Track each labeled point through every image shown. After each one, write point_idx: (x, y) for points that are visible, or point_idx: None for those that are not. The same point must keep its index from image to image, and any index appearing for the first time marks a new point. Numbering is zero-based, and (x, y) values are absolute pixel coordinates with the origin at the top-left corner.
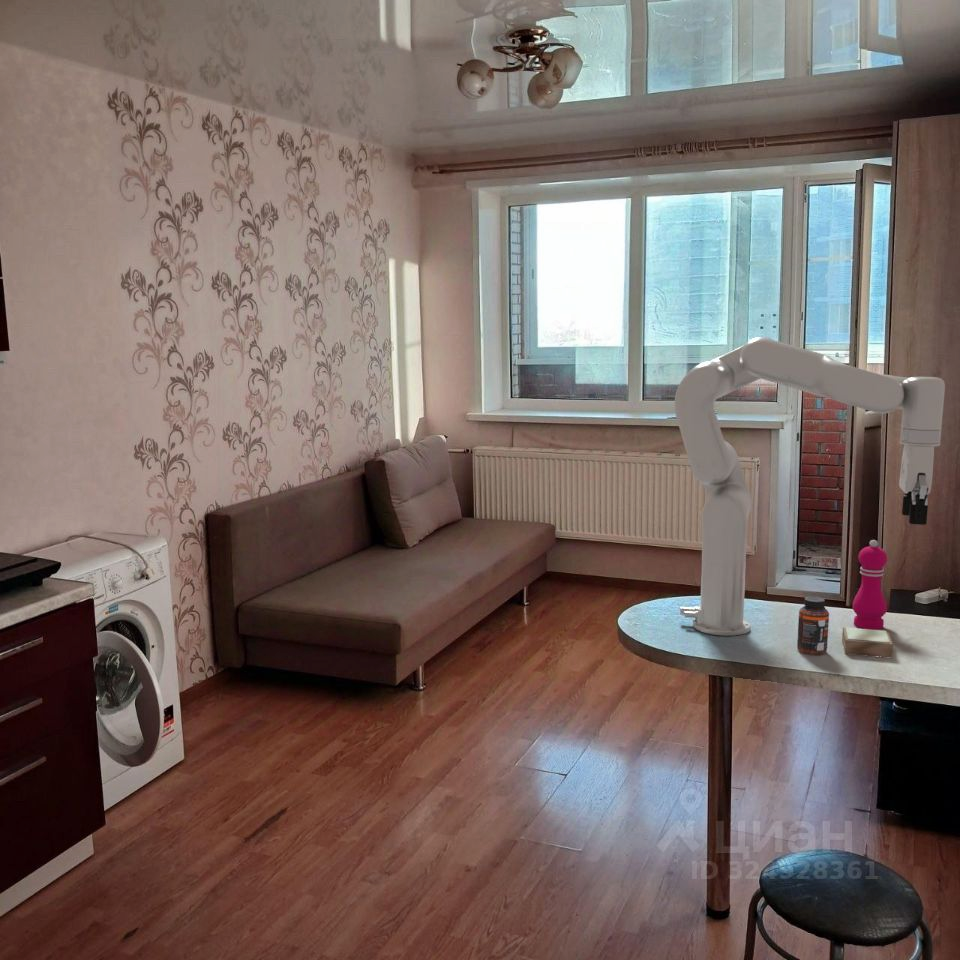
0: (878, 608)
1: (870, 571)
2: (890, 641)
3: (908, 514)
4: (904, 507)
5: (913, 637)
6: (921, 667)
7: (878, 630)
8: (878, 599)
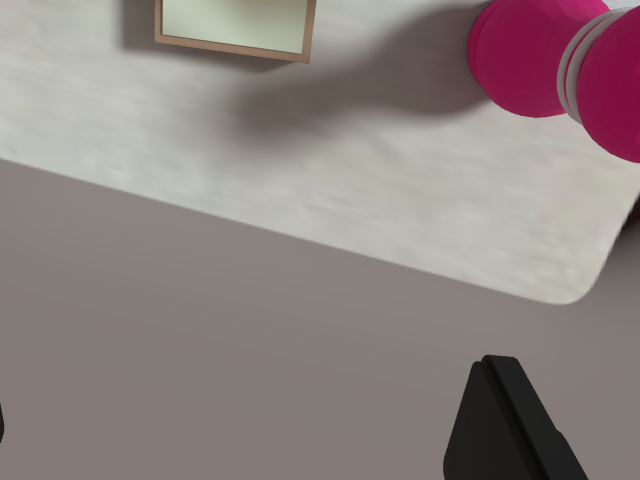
0: (484, 73)
1: (575, 51)
2: (184, 41)
3: (461, 402)
4: (502, 425)
5: (397, 163)
6: (104, 109)
7: (299, 27)
8: (508, 79)
